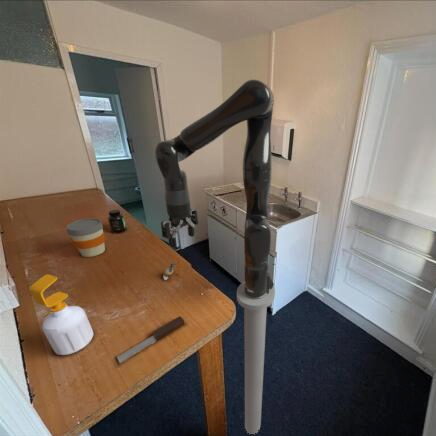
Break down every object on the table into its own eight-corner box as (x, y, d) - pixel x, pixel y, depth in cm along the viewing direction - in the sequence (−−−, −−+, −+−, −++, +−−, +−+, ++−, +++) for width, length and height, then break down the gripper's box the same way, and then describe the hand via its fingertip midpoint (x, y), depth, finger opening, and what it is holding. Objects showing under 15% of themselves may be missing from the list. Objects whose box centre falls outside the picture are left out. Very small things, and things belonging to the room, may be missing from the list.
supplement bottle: (129, 229, 133) (124, 210, 128) (118, 234, 127) (113, 214, 122) (119, 226, 134) (114, 207, 129) (108, 232, 128) (102, 212, 123)
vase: (177, 270, 104) (175, 259, 102) (178, 278, 100) (176, 266, 98) (163, 273, 102) (161, 262, 99) (164, 281, 98) (162, 270, 95)
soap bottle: (101, 334, 74) (76, 273, 64) (69, 360, 66) (35, 295, 56) (80, 325, 76) (53, 265, 66) (46, 350, 68) (10, 285, 58)
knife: (180, 319, 81) (180, 315, 80) (184, 324, 80) (184, 320, 79) (116, 357, 68) (115, 353, 67) (119, 364, 66) (118, 359, 66)
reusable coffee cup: (69, 259, 105) (58, 230, 98) (86, 245, 116) (76, 218, 110) (101, 258, 108) (92, 230, 101) (114, 244, 119) (106, 217, 112)
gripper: (168, 209, 73) (175, 252, 79) (201, 196, 85) (204, 235, 92) (151, 204, 75) (159, 246, 82) (185, 192, 87) (189, 230, 94)
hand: (182, 240), depth 87 cm, fingers open, 8 cm apart
